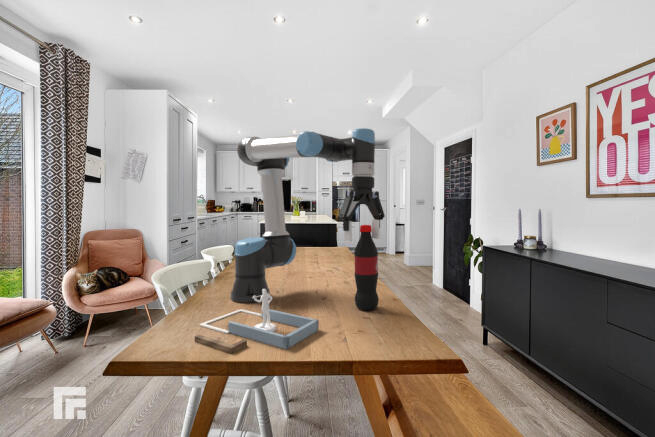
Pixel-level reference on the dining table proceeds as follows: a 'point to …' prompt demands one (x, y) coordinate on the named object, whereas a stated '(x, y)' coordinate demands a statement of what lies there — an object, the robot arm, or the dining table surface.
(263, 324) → the figurine
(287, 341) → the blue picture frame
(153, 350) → the dining table surface
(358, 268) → the cola bottle
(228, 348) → the crook tool
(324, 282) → the dining table surface
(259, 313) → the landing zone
